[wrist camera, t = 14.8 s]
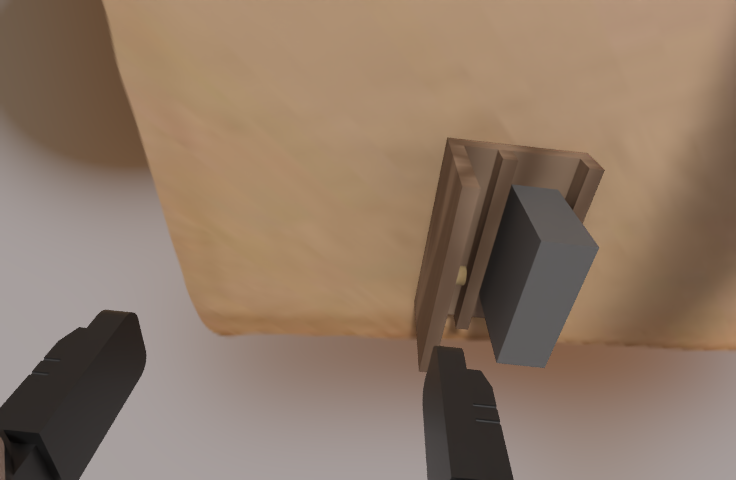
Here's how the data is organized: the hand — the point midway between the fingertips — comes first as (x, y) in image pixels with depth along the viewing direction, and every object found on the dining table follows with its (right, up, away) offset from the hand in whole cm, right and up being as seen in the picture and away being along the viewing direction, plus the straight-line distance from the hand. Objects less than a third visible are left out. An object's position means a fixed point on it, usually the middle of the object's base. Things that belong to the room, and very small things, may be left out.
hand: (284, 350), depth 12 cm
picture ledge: (+14, +3, +30) cm, 34 cm away
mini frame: (+16, +2, +29) cm, 33 cm away
